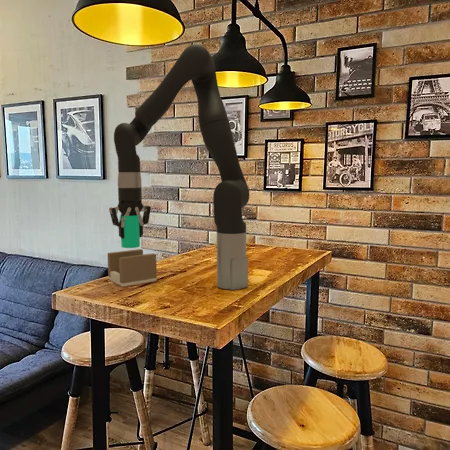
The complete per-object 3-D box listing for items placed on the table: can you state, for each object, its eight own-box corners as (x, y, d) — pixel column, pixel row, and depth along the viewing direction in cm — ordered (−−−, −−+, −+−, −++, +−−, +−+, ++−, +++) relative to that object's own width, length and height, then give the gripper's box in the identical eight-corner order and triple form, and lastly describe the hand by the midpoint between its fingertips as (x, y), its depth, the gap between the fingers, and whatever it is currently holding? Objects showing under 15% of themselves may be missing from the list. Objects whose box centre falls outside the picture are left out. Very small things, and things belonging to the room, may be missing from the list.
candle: (135, 248, 134) (134, 211, 132) (118, 247, 135) (117, 211, 133) (142, 245, 140) (141, 209, 138) (126, 244, 141) (125, 209, 139)
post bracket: (156, 280, 137) (156, 254, 136) (122, 286, 130) (121, 258, 129) (141, 274, 147) (140, 249, 146) (108, 279, 140) (107, 252, 139)
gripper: (112, 187, 128) (114, 241, 130) (155, 186, 136) (156, 237, 138) (104, 186, 134) (106, 238, 136) (145, 185, 142) (146, 234, 144)
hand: (131, 237), depth 137 cm, fingers closed on candle, 5 cm apart
